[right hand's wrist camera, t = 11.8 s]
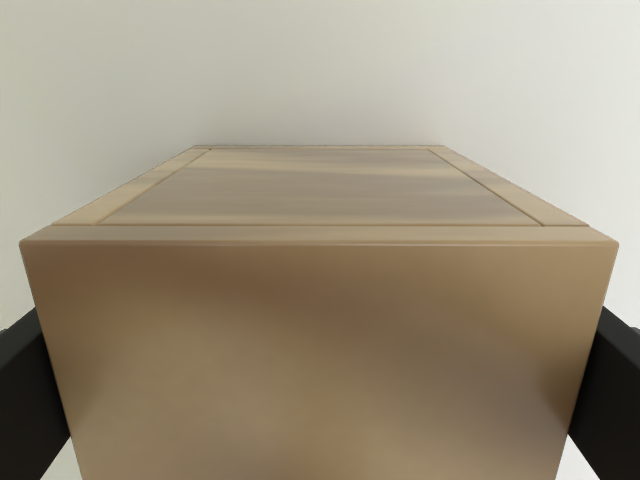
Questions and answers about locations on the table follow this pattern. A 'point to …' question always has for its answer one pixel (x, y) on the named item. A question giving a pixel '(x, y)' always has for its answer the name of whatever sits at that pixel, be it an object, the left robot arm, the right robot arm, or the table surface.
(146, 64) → the table surface
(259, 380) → the cabinet
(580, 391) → the right robot arm
